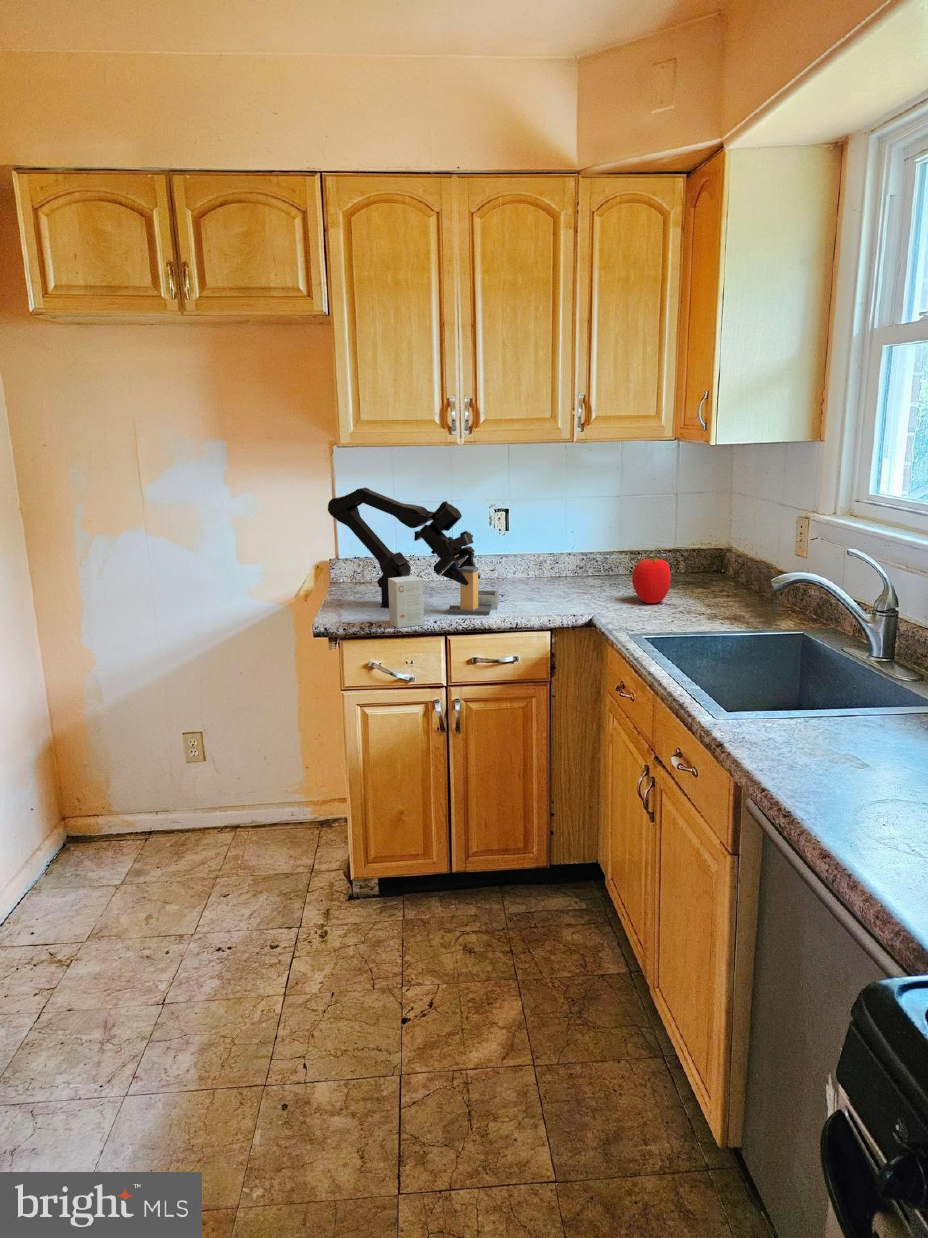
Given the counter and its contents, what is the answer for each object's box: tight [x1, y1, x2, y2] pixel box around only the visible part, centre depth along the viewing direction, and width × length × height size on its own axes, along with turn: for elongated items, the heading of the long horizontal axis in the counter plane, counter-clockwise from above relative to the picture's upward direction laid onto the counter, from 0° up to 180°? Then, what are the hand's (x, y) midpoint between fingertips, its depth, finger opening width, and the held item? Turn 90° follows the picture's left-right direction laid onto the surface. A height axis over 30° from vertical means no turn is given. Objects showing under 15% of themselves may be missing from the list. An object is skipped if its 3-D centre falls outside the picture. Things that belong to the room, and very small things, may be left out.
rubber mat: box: [447, 604, 492, 616], centre depth 245 cm, size 12×6×1 cm, turn 84°
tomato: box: [631, 555, 672, 604], centre depth 254 cm, size 13×11×14 cm
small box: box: [388, 575, 425, 629], centre depth 230 cm, size 8×6×13 cm
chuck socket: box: [478, 589, 500, 610], centre depth 252 cm, size 8×8×4 cm
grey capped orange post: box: [459, 566, 479, 610], centre depth 243 cm, size 4×4×12 cm
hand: (473, 581), depth 242 cm, fingers open, 9 cm apart
